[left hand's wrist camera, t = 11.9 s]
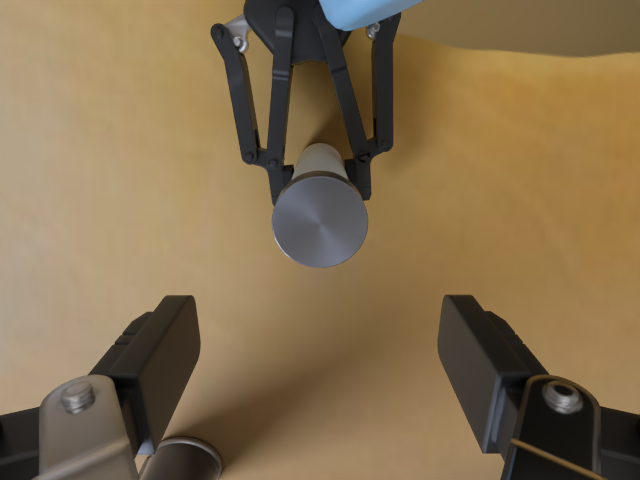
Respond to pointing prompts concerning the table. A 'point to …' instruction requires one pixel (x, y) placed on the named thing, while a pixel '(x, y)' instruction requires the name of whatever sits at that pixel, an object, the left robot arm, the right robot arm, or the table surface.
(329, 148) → the white long cylinder
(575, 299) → the table surface
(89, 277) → the table surface
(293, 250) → the lid
